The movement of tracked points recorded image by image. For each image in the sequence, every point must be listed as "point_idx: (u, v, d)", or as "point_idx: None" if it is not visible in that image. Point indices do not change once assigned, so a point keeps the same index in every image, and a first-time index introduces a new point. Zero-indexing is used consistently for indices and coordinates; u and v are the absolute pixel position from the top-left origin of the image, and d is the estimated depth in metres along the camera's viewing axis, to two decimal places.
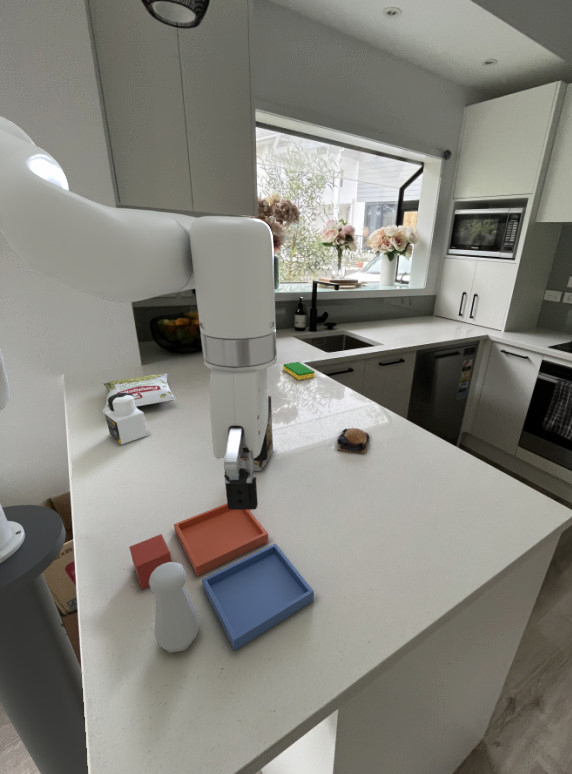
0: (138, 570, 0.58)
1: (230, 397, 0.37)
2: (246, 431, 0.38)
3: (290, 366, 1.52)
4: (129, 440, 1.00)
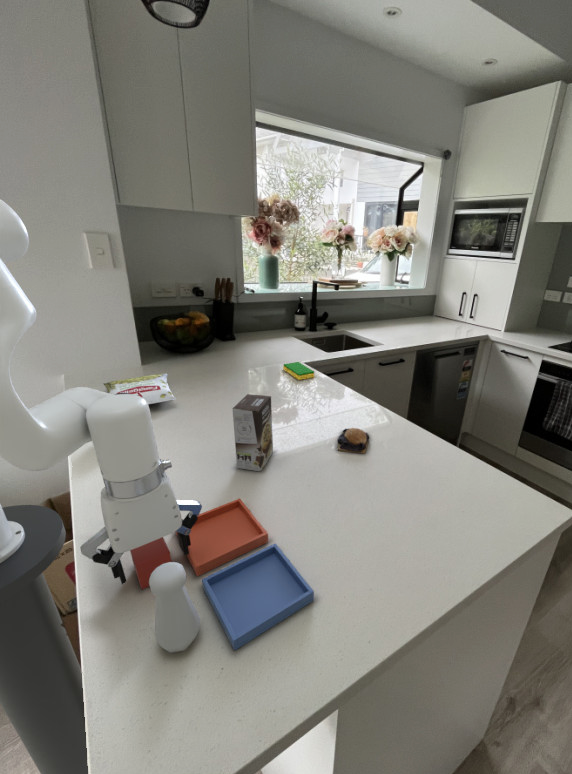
0: (138, 570, 0.58)
1: (102, 508, 0.54)
2: (108, 534, 0.55)
3: (290, 366, 1.52)
4: None
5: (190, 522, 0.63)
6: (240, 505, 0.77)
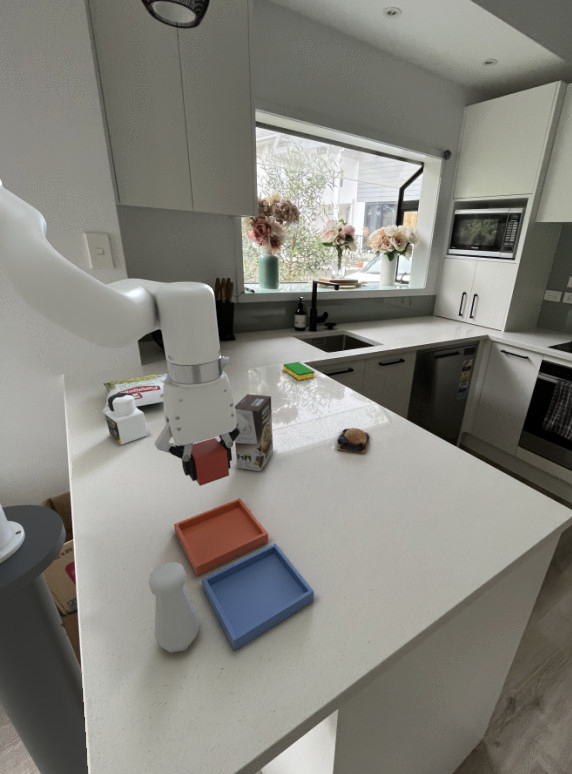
0: (197, 464, 0.59)
1: (165, 397, 0.55)
2: (170, 423, 0.56)
3: (290, 366, 1.52)
4: (129, 440, 1.00)
5: (232, 435, 0.63)
6: (240, 505, 0.77)
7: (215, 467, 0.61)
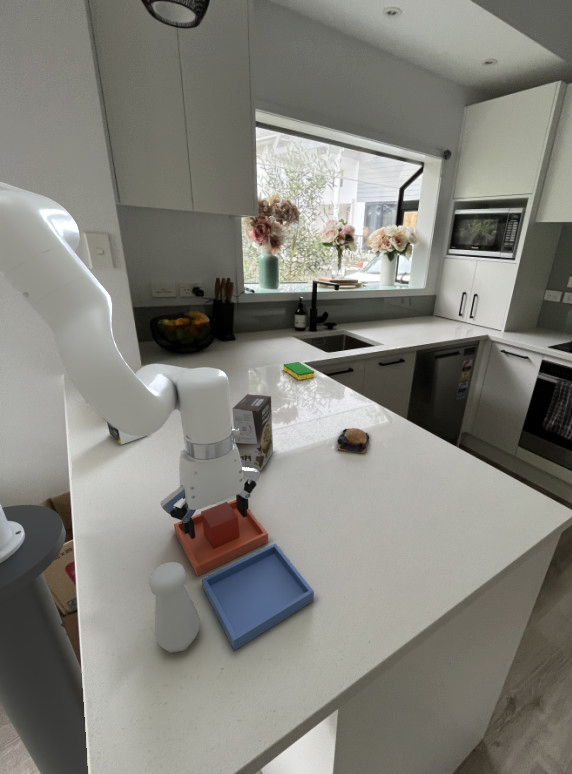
0: (212, 531, 0.66)
1: (181, 469, 0.61)
2: (185, 492, 0.61)
3: (290, 366, 1.52)
4: (129, 440, 1.00)
5: (250, 487, 0.70)
6: None
7: (227, 531, 0.68)
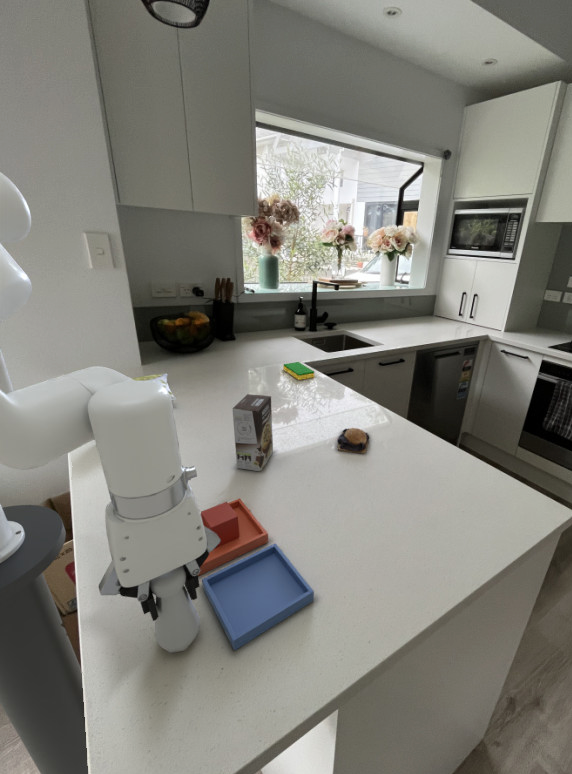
0: None
1: (107, 530, 0.41)
2: (114, 563, 0.42)
3: (290, 366, 1.52)
4: None
5: (199, 559, 0.49)
6: (240, 505, 0.77)
7: (227, 531, 0.68)
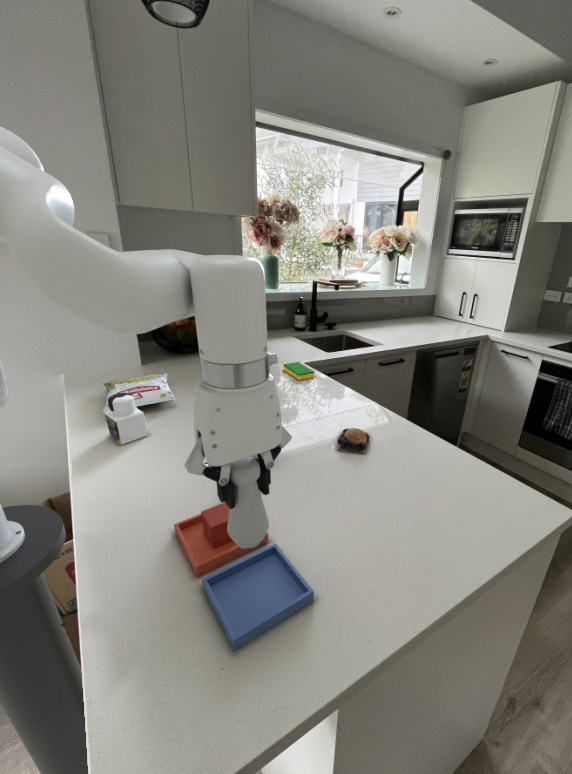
0: (212, 531, 0.66)
1: (196, 406, 0.43)
2: (202, 439, 0.43)
3: (290, 366, 1.52)
4: (129, 440, 1.00)
5: (273, 452, 0.50)
6: None
7: None
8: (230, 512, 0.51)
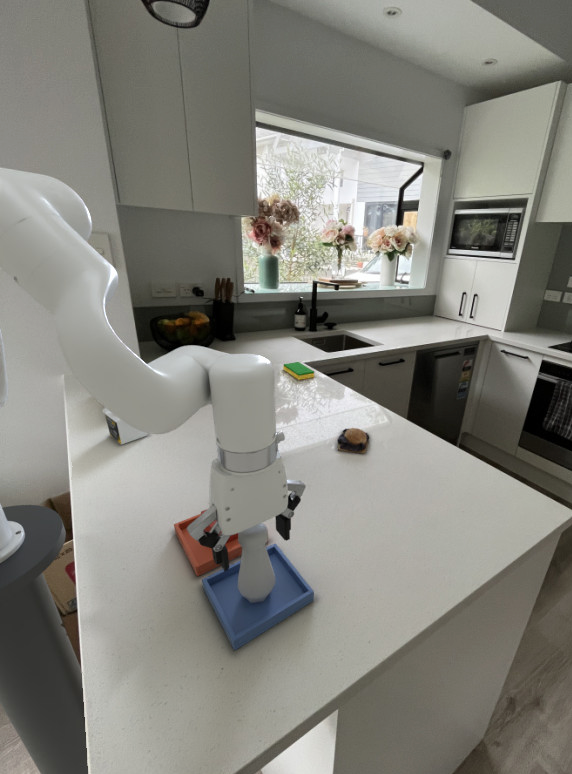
0: None
1: (213, 484, 0.48)
2: (218, 513, 0.48)
3: (290, 366, 1.52)
4: (129, 440, 1.00)
5: (293, 503, 0.56)
6: None
7: None
8: (240, 571, 0.56)
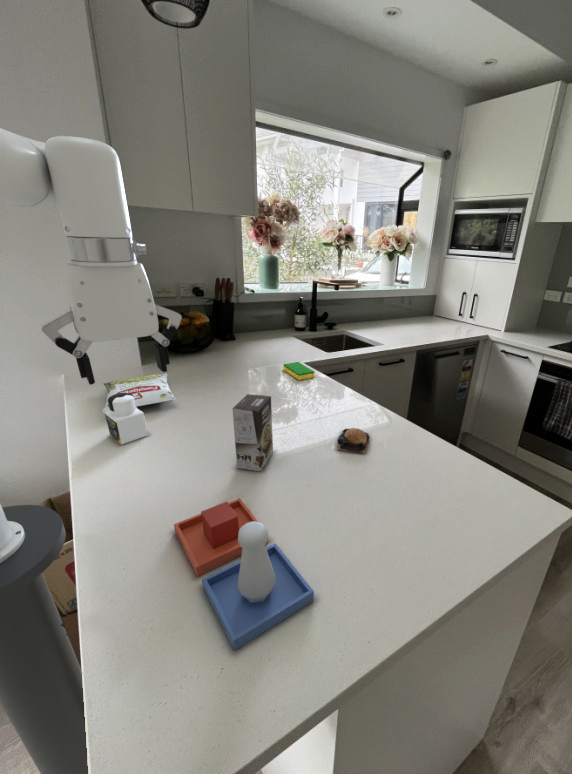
0: (212, 531, 0.66)
1: (66, 282, 0.48)
2: (72, 313, 0.49)
3: (290, 366, 1.52)
4: (129, 440, 1.00)
5: (168, 332, 0.57)
6: (240, 505, 0.77)
7: (227, 531, 0.68)
8: (240, 571, 0.56)
